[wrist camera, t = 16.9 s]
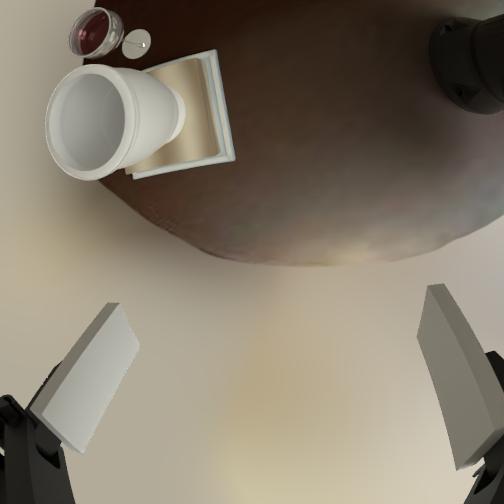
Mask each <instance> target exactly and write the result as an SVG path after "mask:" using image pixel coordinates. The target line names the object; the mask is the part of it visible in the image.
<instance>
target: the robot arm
mask: <svg viewBox="0 0 504 504" xmlns="http://www.w3.org/2000/svg"><path fill="white" fill-rule="evenodd" d="M430 60H431V64H432V68H433V71H434V74H435V76H436V78H437V80H438V82H439V84H440V86H441V87H442V89H443V90H444V91H445V93H446V94H447V95H448V96H449V98H450V99H451V100H452V101H454V102H455V103H456V104H457V105H458V106H460V107H461V108H463V109H465V110H467V111H469V112H473V113H478V114H494V113H497V112H499V111H501V110H503V109H504V14H502V15H499V16H495V17H492V18H489V19H486V20H483V21H482V20H476V19H471V18H464V17H457V18H452V19H450V20H447V21H445V22H443V23H441V24H440V25H439V26H438V27H437V28H436V29H435V31H434V32H433V34H432V37H431V41H430ZM417 339H418V342H419V345H420V347H421V350H422V353H423V355H424V358H425V361H426V364H427V366H428V369H429V372H430V375H431V378H432V381H433V384H434V387H435V391H436V393H437V397H438V400H439V403H440V407H441V410H442V414H443V417H444V421H445V425H446V428H447V432H448V436H449V440H450V444H451V448H452V453H453V457H454V461H455V466H456V471H457V470H460V469H463V468H466V467H469V466H472V465H474V464H476V463H477V462H478V461H479V460H480V459H481V458H482V457H484V461H485V464H484V465H483V466H482V467H480V468H479V469H478V470H477V471H476V472H475V473H474V475H473V477H476V476H477V475H478V474H479V476H478V477H477V479H476V481H475V483H474V485H473V487H472V489H471V491H470V493H469V495H468V497H467V498H466V500H465V502H464V504H504V359H503V358H502V357H501V356H499V354H498V353H496V352H495V351H491V352H488V353H484V351H483V349H482V347H481V345H480V343H479V341H478V340H477V338H476V336H475V334H474V332H473V331H472V329H471V327H470V325H469V324H468V322H467V320H466V318H465V317H464V315H463V313H462V312H461V310H460V308H459V307H458V305H457V304H456V302H455V300H454V299H453V297H452V296H451V294H450V293H449V291H448V289H447V288H446V286H445V285H444V284H437V285H429V286H427V292H426V297H425V302H424V308H423V312H422V317H421V321H420V325H419V330H418V334H417ZM140 347H141V346H140V344H139V342H138V341H137V338H136V336H135V335H134V332H133V330H132V328H131V326H130V324H129V322H128V320H127V318H126V316H125V314H124V311H123V309H122V307H121V304H120V303H107V304H106V305H105V307H104V308H103V309H102V310H101V312H100V313H99V314H98V315H97V316H96V318H95V319H94V320H93V322H92V323H91V324H90V325H89V327H88V328H87V329H86V330H85V332H84V333H83V334H82V336H81V337H80V338H79V340H78V341H77V342H76V344H75V345H74V346H73V348H72V349H71V350H70V352H69V353H68V354H67V356H66V357H65V358H64V360H63V361H61V362H60V363H59V364H58V365H57V366H55V367H54V368H53V370H52V371H51V373H50V374H49V376H48V378H46V380H45V381H44V382H43V385H41V387H40V388H39V390H38V391H37V393H36V394H35V395H34V397H33V398H32V400H31V401H30V403H29V405H28V406H27V407H26V409H25V410H24V409H23V408H22V407H21V406H20V405H19V404H18V403H17V401H16V400H15V399H14V398H13V397H12V396H11V395H3V396H2V397H0V447H1V448H2V449H3V450H4V455H5V456H3V455H2V454H1V453H0V504H75V501H74V497H73V493H72V489H71V485H70V480H69V476H68V471H67V466H66V461H65V456H64V452H63V449H62V447H61V446H60V444H61V442H63V443H64V444H65V445H66V446H67V447H68V448H70V449H71V450H74V451H76V452H78V453H81V454H84V452H85V449H86V448H87V446H88V443H89V442H90V440H91V438H92V436H93V434H94V432H95V430H96V428H97V426H98V424H99V422H100V420H101V418H102V416H103V414H104V412H105V410H106V409H107V407H108V405H109V403H110V401H111V399H112V397H113V396H114V394H115V392H116V390H117V388H118V386H119V384H120V383H121V381H122V379H123V377H124V375H125V374H126V372H127V370H128V368H129V366H130V365H131V363H132V361H133V359H134V358H135V356H136V354H137V352H138V350H139V349H140Z"/></svg>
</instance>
